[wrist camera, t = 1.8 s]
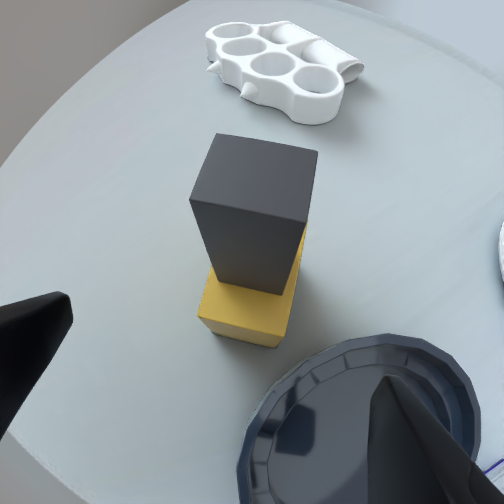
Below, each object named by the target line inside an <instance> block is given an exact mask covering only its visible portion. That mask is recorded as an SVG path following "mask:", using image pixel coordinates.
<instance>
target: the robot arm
mask: <svg viewBox="0 0 504 504" xmlns="http://www.w3.org/2000/svg"><path fill="white" fill-rule="evenodd" d="M72 323H73V313H72V307H71V301H70V298H69V296H68V295H67V294H64V293H62V292H59V291H56V292H52V293H48V294H45V295H41V296H37V297H34V298H30V299H26V300H23V301H19V302H15V303H12V304H8V305H4V306H1V307H0V440H1V439H2V437H3V435H4V433H5V432H6V430H7V428H8V427H9V425H10V423H11V422H12V420H13V418H14V417H15V415H16V414H17V412H18V410H19V409H20V407H21V406H22V404H23V402H24V401H25V399H26V398H27V396H28V395H29V393H30V392H31V390H32V389H33V387H34V386H35V384H36V383H37V381H38V380H39V378H40V377H41V375H42V374H43V372H44V371H45V369H46V368H47V366H48V365H49V363H50V362H51V360H52V358H53V357H54V355H55V353H56V351H57V350H58V348H59V346H60V344H61V343H62V341H63V339H64V338H65V336H66V334H67V332H68V331H69V329H70V327H71V326H72ZM367 466H368V504H504V494H503V493H502V492H501V491H500V490H499V489H498V488H497V487H496V486H495V485H494V484H493V483H492V482H491V481H490V480H489V479H488V477H487V476H486V475H485V474H484V473H483V472H482V471H481V469H480V468H479V467H478V466H477V465H476V463H475V462H473V460H472V459H471V458H470V456H469V455H468V454H467V453H466V452H465V451H464V449H463V448H462V447H461V446H460V445H459V444H458V442H457V441H456V440H455V439H454V438H453V437H452V435H451V434H450V433H449V432H448V431H447V430H446V428H445V427H444V426H443V425H442V424H441V423H440V422H439V420H438V419H437V418H436V417H435V416H434V415H433V414H432V412H431V411H430V410H429V409H428V408H427V407H426V406H425V404H424V403H423V402H422V401H421V400H420V399H419V398H418V397H417V395H416V394H415V393H414V392H413V391H412V390H411V389H410V388H409V386H408V385H407V384H406V383H405V382H404V381H403V380H402V379H401V378H400V377H399V376H396V375H385V376H383V378H382V379H381V381H380V382H379V384H378V386H377V388H376V389H375V391H374V393H373V394H372V397H371V400H370V416H369V432H368V446H367Z"/></svg>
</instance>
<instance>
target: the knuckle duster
mask: <svg viewBox="0 0 504 504" xmlns="http://www.w3.org/2000/svg"><path fill="white" fill-rule="evenodd" d="M205 41H206V49H207V57H208V60H210V61H213V62H215V63H213V64H212V65H211V66H210V67H209V68H207V69H206V70H205V71H206V72H212V73H217V74H218V75H219V77H220V78H221V80H222V81H223V83H224V84H229V85H232V86H234V87H236V88H237V89H239V90H240V92H241V95H240V97H243V98H245V99H247V100H249V101H252V102H254V103H256V104H258V105H264V106H270V107H274V108H277V109H279V110H281V111H283V112H284V113H286V114H287V115H288V116H289V117H290V118H291V120H292V121H294V122H297V123H301V124H308V125H317V124H323V123H326V122H329V121H330V120H332V119H333V118H334V117H335V116H336V115H337V113H338V111H339V107H340V103H341V100H342V96H343V92H344V88H345V83H348V82H351V81H353V80H354V79H356V78H357V77H358V76H360V75H361V74H362V72H363V71H364V68H365V65H364V64H363V62H362V61H360V60H359V59H357V58H355V57H354V56H353V57H352V56H351V55H349V54H348V53H346V52H344V51H343V50H341V49H339V48H338V47H336V46H334V45H332V44H331V43H329V42H328V41H326V40H325V39H323V38H321V37H319V36H316V35H314V34H312V33H310V32H308V31H306V30H304V29H302V28H300V27H298V26H297V25H295V24H293V23H291V22H289V21H277V22H273V23H269V24H265V25H253V24H249V23H242V22H233V23H225V24H221V25H218V26H215V27H213V28H211V29H210V30H208V32H207V33H206V35H205ZM308 91H311V92H308ZM312 92H317V93H312ZM319 93H321V94H319Z"/></svg>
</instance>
